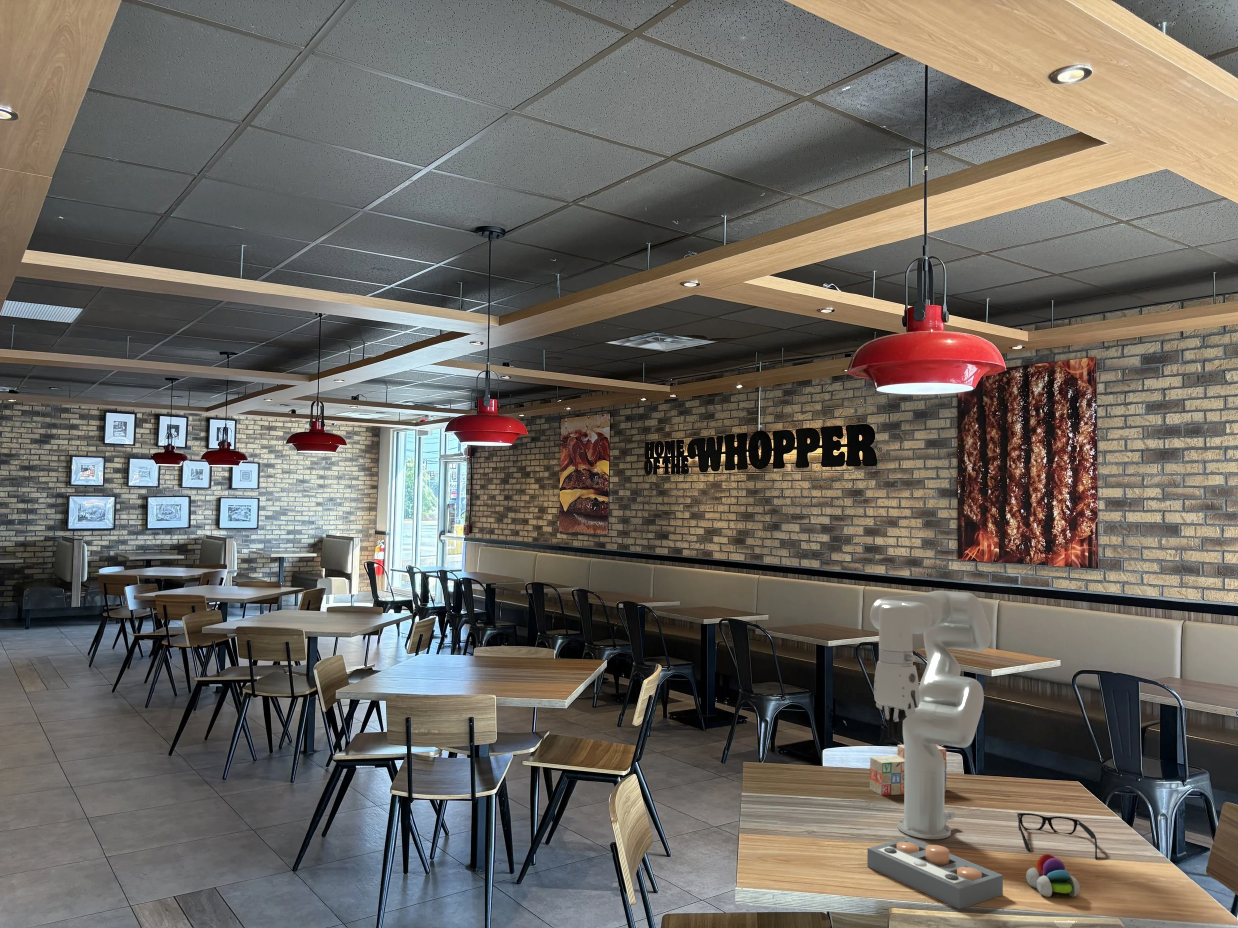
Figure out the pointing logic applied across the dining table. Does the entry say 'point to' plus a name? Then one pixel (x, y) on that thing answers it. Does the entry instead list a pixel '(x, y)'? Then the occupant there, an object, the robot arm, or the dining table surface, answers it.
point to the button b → (937, 855)
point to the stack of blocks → (893, 772)
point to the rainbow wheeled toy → (1052, 877)
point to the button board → (935, 874)
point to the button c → (969, 873)
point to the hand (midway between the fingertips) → (895, 737)
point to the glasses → (1044, 819)
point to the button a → (908, 847)
